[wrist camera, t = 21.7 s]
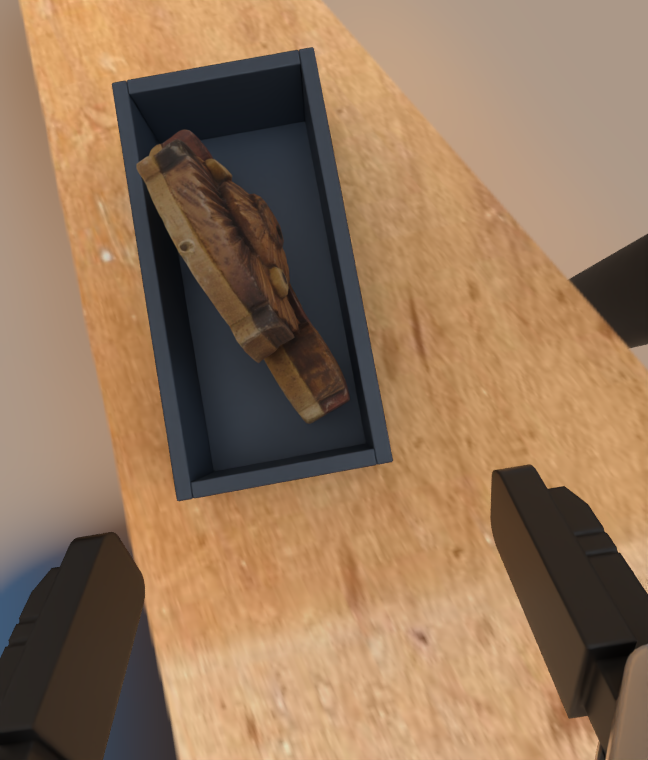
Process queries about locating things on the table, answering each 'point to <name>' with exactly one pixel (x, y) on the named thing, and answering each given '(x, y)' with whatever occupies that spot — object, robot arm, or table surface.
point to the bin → (306, 271)
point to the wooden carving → (242, 269)
